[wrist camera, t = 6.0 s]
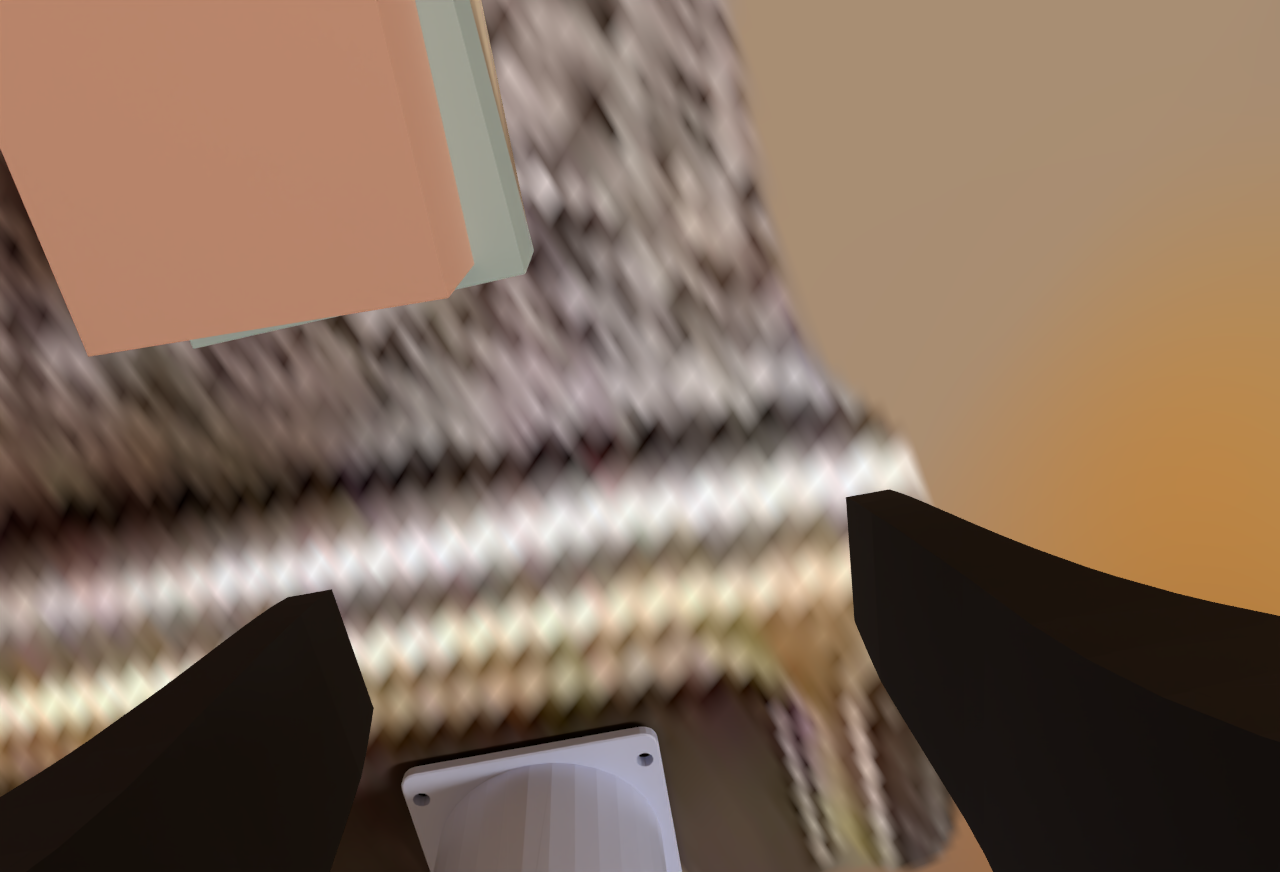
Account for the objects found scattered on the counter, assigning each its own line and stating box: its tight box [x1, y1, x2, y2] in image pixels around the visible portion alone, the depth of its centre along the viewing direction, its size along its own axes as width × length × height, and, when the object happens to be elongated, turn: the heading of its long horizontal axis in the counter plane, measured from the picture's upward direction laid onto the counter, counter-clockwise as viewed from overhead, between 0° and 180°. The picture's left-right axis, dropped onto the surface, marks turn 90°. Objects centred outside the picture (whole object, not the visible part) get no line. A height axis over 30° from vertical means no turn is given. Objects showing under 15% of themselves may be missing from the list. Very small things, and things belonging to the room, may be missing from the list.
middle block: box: [190, 0, 534, 349], centre depth 14 cm, size 6×6×3 cm
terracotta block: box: [0, 0, 474, 357], centre depth 11 cm, size 5×5×3 cm
